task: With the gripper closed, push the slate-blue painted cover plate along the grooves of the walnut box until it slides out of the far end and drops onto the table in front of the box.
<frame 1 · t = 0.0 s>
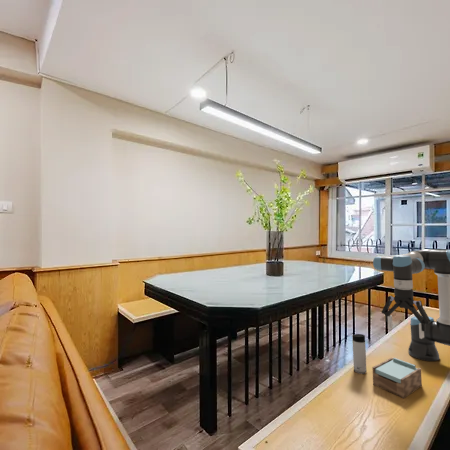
hand: (405, 333, 128), 28 cm above the table, fingers open, 13 cm apart
box: (397, 385, 134), on the table
travel mug: (360, 371, 149), on the table
cover plate: (396, 372, 135), point 6 cm above the table, touching box
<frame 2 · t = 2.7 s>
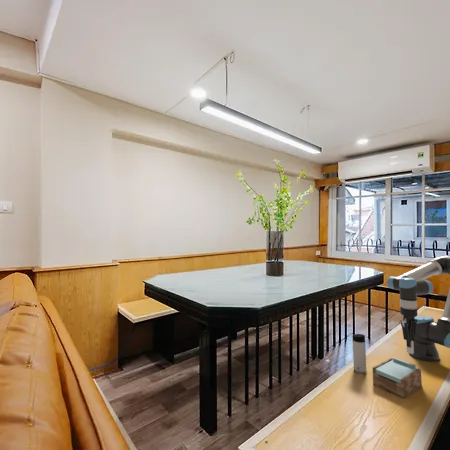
hand: (410, 352, 143), 12 cm above the table, fingers closed
nothing on the table moved.
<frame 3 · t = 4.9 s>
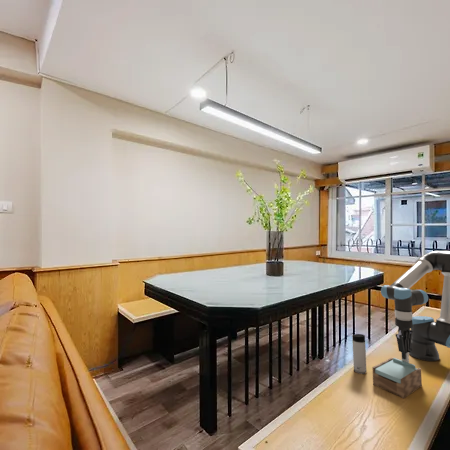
hand: (405, 364, 140), 7 cm above the table, fingers closed
cover plate: (396, 373, 135), point 6 cm above the table, touching gripper
everything else where it was.
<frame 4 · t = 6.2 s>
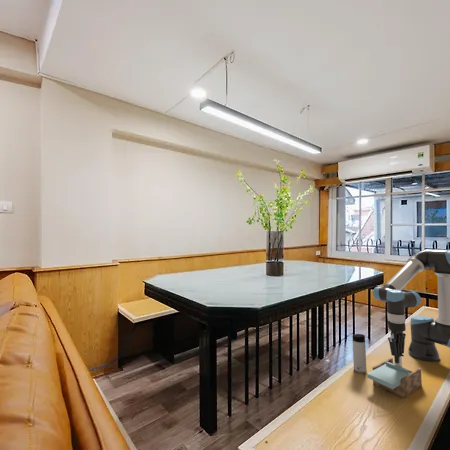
hand: (398, 369, 136), 7 cm above the table, fingers closed
cover plate: (389, 377, 131), point 6 cm above the table, touching box, gripper
everything else where it was.
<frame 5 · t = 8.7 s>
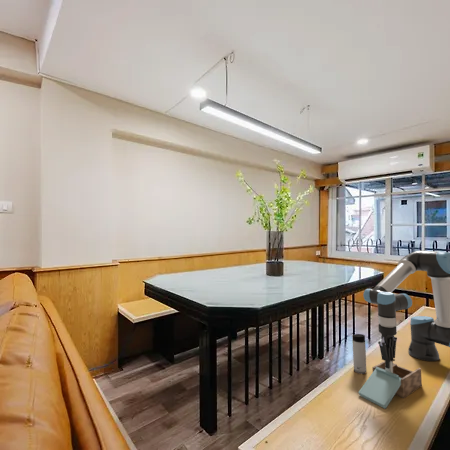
hand: (389, 374, 131), 7 cm above the table, fingers closed
cover plate: (380, 388, 126), point 3 cm above the table, tilted 23°, touching box, gripper
everything else where it was.
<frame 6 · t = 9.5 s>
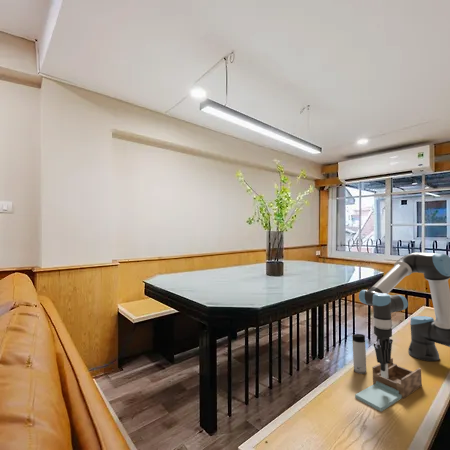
hand: (384, 376, 129), 7 cm above the table, fingers closed
cover plate: (378, 399, 125), on the table
everything else where it was.
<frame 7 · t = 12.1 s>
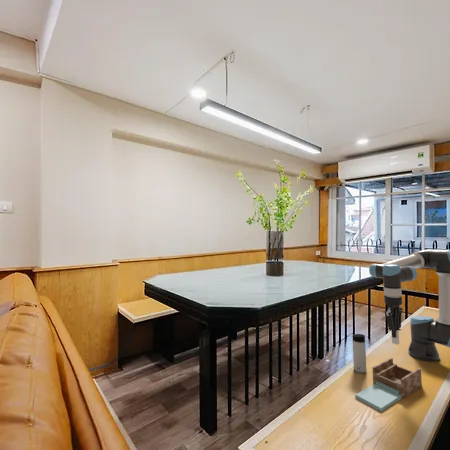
hand: (395, 343, 135), 21 cm above the table, fingers closed
nothing on the table moved.
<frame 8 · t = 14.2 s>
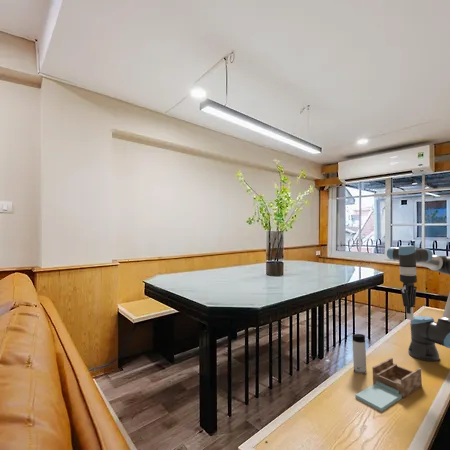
hand: (410, 319, 144), 29 cm above the table, fingers closed
nothing on the table moved.
at the end: cover plate inside the target area (8.9 cm from its centre), on the table; cover plate touching table; cover plate tilted 0° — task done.
